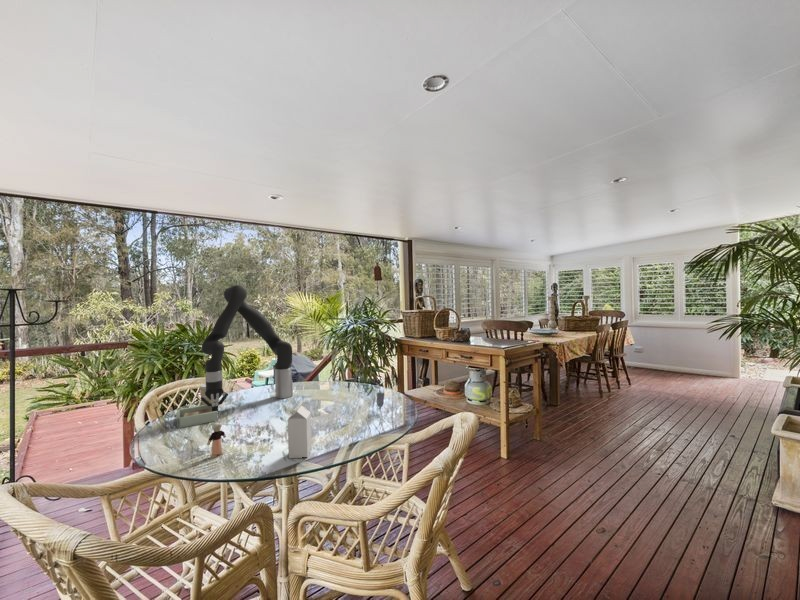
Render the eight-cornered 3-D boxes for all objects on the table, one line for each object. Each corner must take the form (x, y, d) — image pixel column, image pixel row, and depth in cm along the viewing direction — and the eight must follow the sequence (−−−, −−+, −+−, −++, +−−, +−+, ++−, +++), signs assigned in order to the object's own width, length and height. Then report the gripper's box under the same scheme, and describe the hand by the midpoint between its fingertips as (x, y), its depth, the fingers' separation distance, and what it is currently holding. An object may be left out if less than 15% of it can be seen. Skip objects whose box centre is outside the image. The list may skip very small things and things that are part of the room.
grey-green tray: (214, 411, 187) (214, 403, 187) (217, 420, 174) (217, 411, 174) (177, 418, 178) (176, 409, 178) (177, 428, 165) (176, 418, 165)
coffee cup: (213, 408, 192) (212, 387, 192) (196, 409, 192) (195, 387, 192) (222, 403, 201) (221, 382, 201) (206, 403, 202) (205, 382, 201)
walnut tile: (212, 414, 185) (212, 408, 185) (211, 417, 179) (211, 411, 179) (199, 415, 182) (199, 410, 182) (198, 419, 177) (198, 413, 177)
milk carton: (311, 449, 140) (310, 402, 140) (307, 458, 133) (306, 408, 133) (293, 450, 140) (292, 402, 140) (288, 458, 133) (287, 408, 132)
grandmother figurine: (214, 459, 133) (213, 426, 133) (206, 458, 134) (204, 425, 134) (229, 450, 141) (228, 419, 140) (221, 449, 142) (220, 418, 141)
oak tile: (199, 417, 180) (198, 411, 180) (197, 421, 175) (197, 415, 175) (185, 419, 178) (185, 413, 178) (183, 423, 172) (183, 417, 172)
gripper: (227, 376, 187) (228, 408, 187) (198, 380, 180) (199, 413, 180) (229, 379, 180) (230, 412, 181) (199, 383, 173) (200, 418, 174)
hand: (215, 413), depth 180 cm, fingers closed
